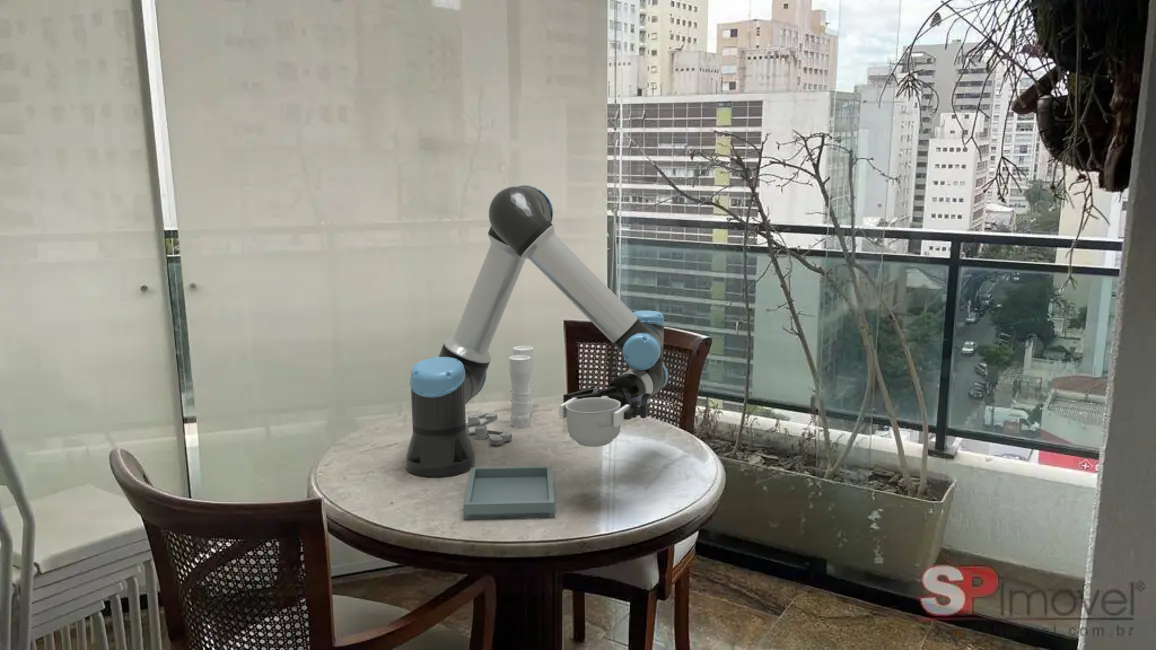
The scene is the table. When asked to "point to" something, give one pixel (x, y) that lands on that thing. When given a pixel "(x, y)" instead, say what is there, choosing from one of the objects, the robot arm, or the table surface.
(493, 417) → the pulley system
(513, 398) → the binoculars
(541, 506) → the tray
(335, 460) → the table surface
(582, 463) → the table surface
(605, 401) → the teacup
